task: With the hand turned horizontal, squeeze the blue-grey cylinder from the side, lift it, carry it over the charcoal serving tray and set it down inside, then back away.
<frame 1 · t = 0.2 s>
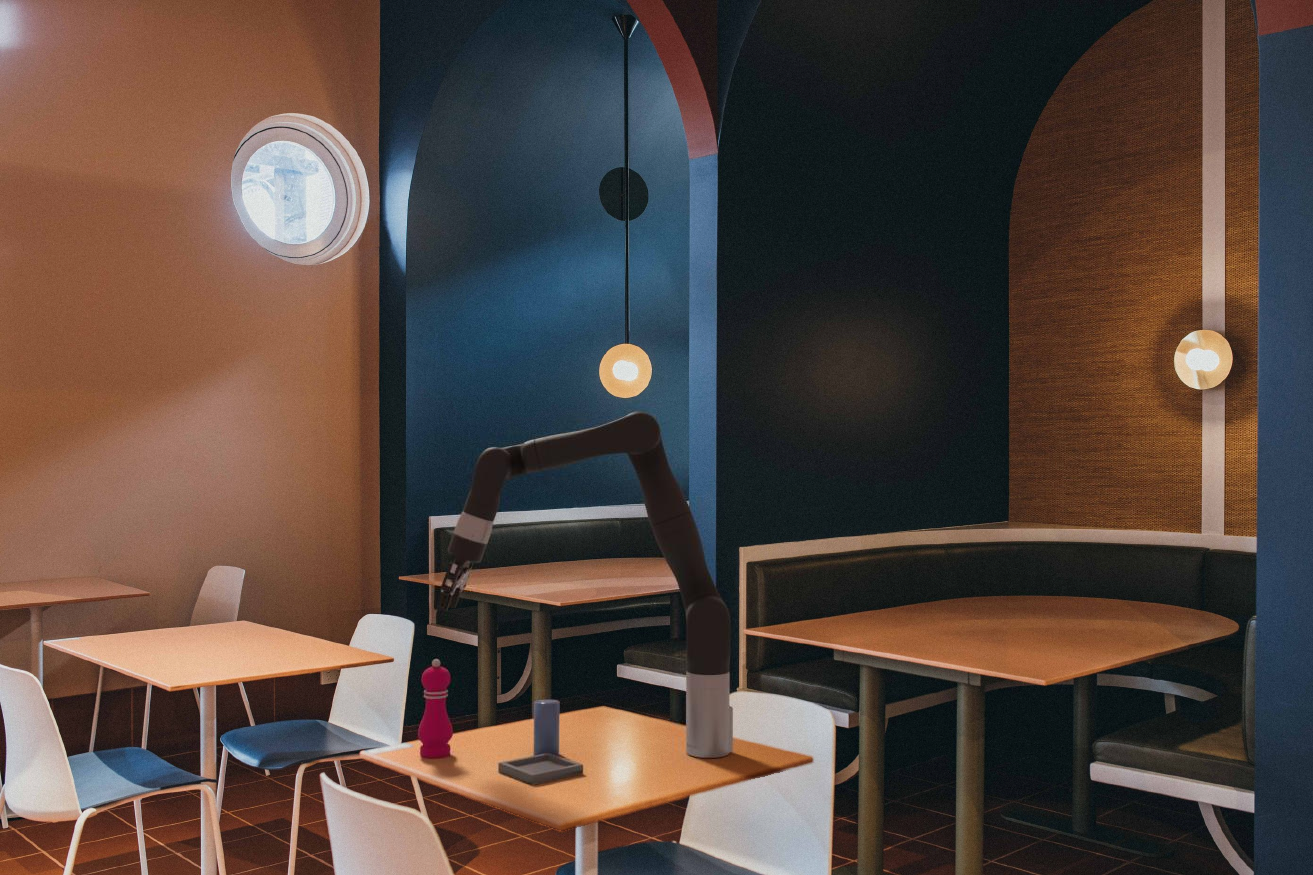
hand: (445, 608, 230), 30 cm above the table, tool tilted 20°, fingers open, 8 cm apart
tray: (540, 772, 214), on the table
blue-grey cylinder: (546, 754, 228), on the table
pepper mill: (435, 755, 228), on the table
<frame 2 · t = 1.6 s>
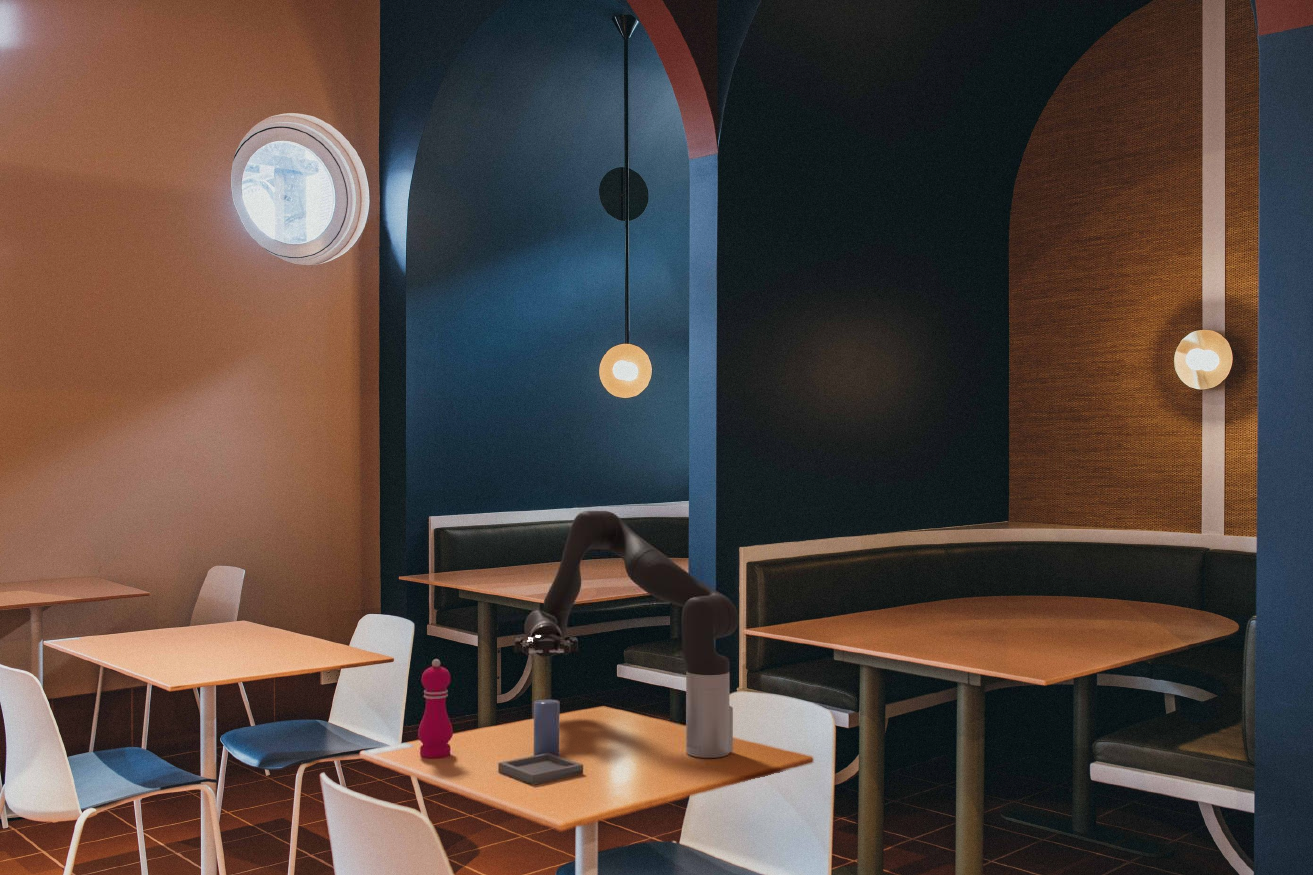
hand: (546, 649, 239), 20 cm above the table, tool horizontal, fingers open, 8 cm apart
nothing on the table moved.
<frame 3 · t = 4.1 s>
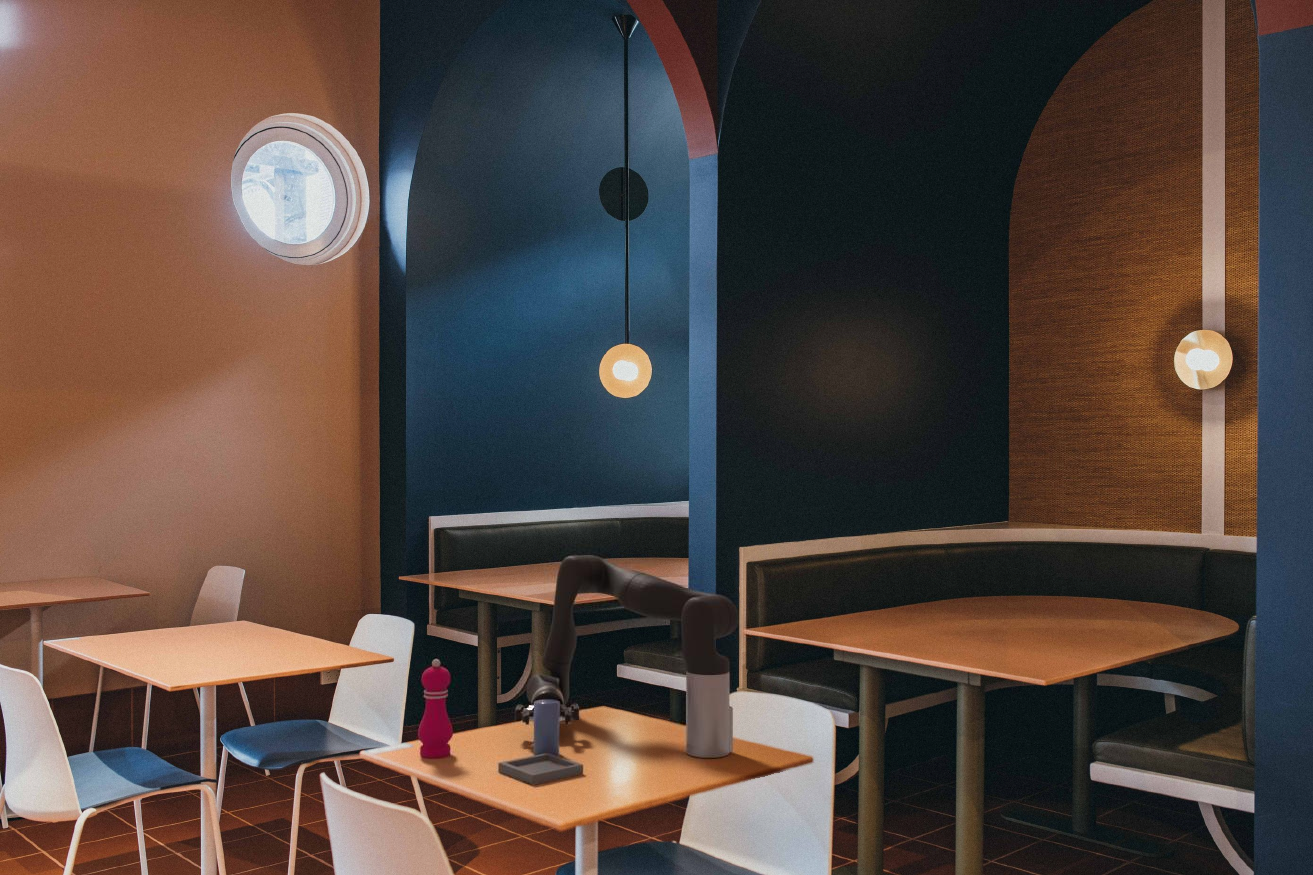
hand: (547, 719, 234), 6 cm above the table, tool horizontal, fingers open, 8 cm apart
nothing on the table moved.
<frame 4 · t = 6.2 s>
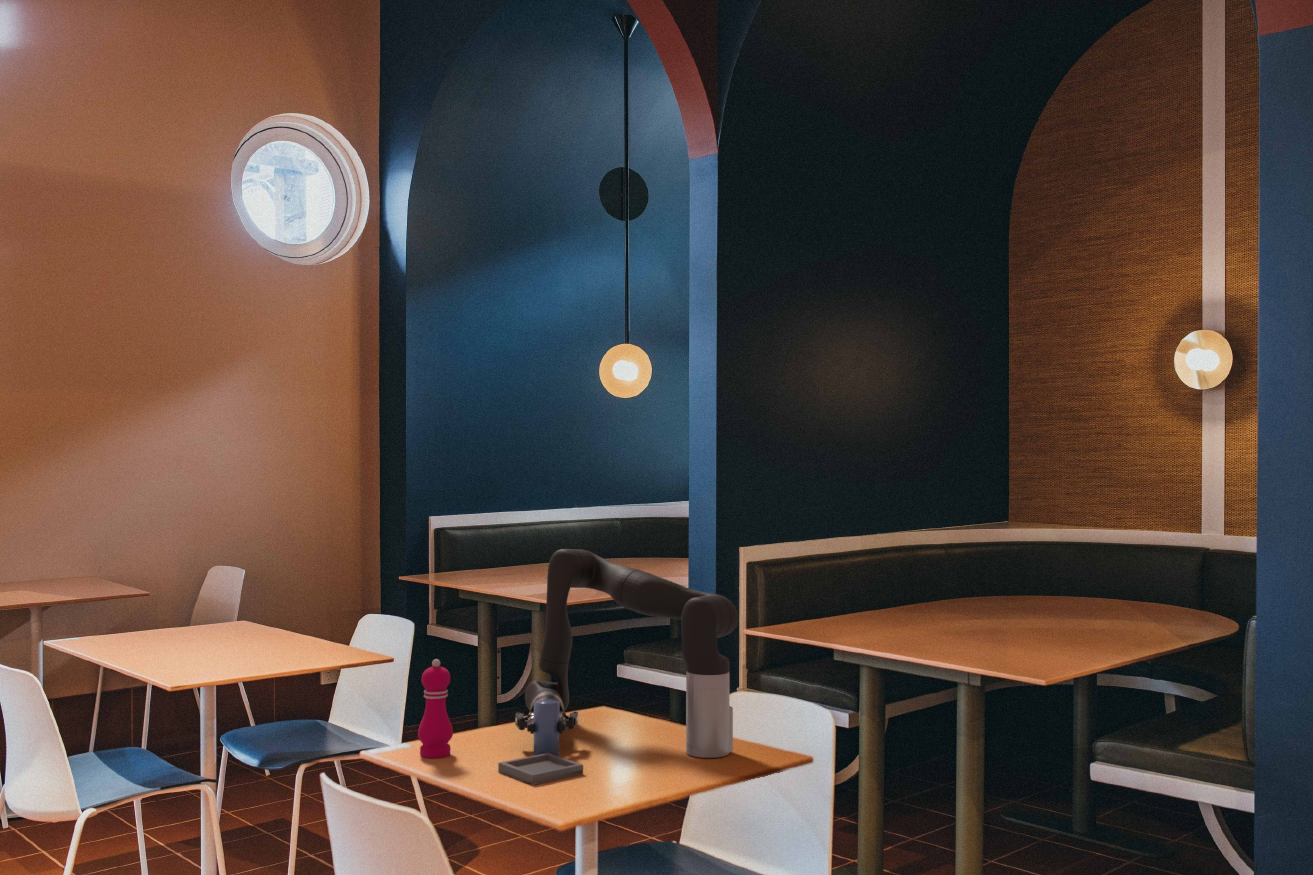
hand: (546, 728, 226), 6 cm above the table, tool horizontal, fingers closed on blue-grey cylinder, 5 cm apart
blue-grey cylinder: (546, 754, 228), on the table, touching gripper
everything else where it was.
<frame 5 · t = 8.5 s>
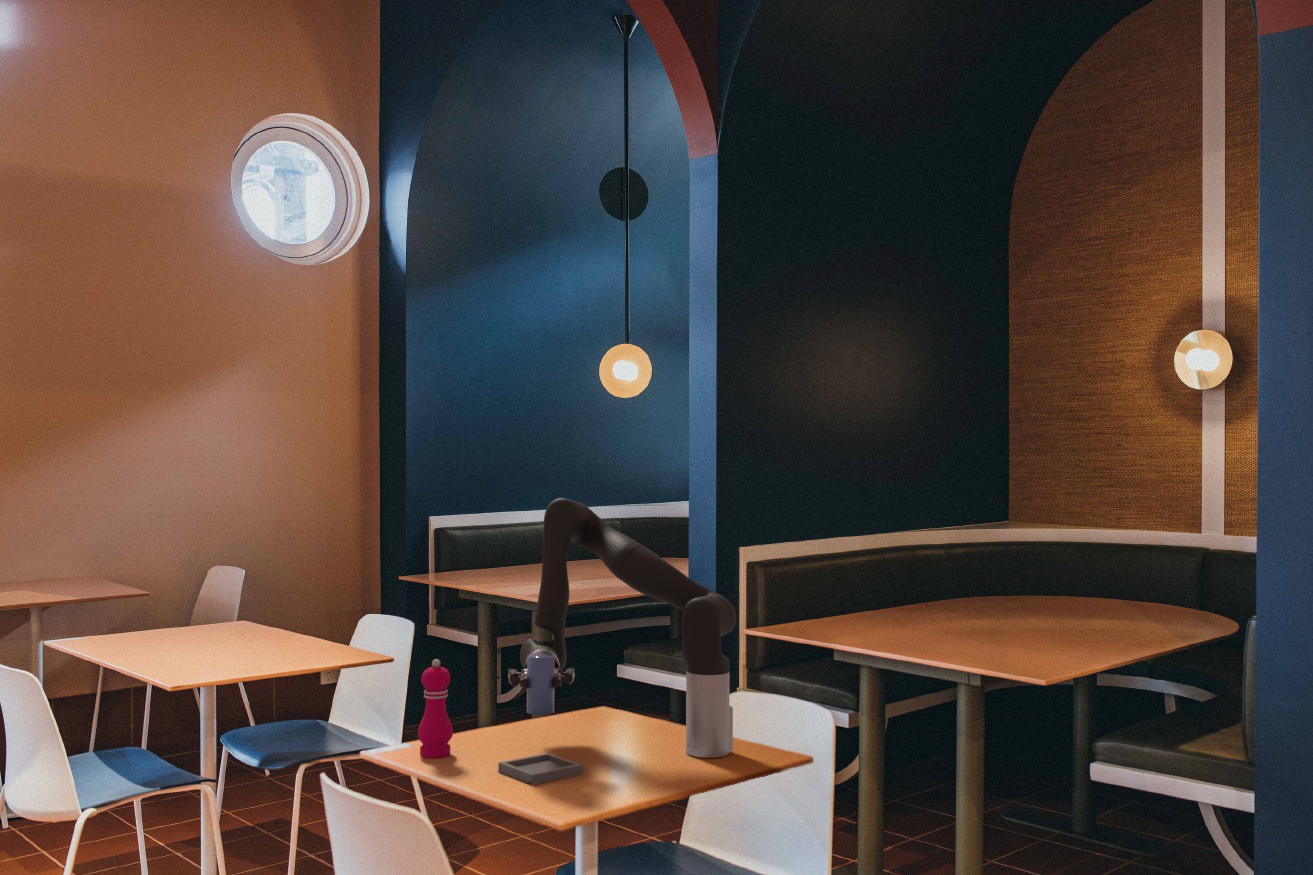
hand: (540, 683, 212), 18 cm above the table, tool horizontal, fingers closed on blue-grey cylinder, 5 cm apart
blue-grey cylinder: (540, 711, 215), point 12 cm above the table, touching gripper
everything else where it was.
when the fingers open (8 cm above the table, at t = 10.9 s): blue-grey cylinder stays where it is, resting on tray.
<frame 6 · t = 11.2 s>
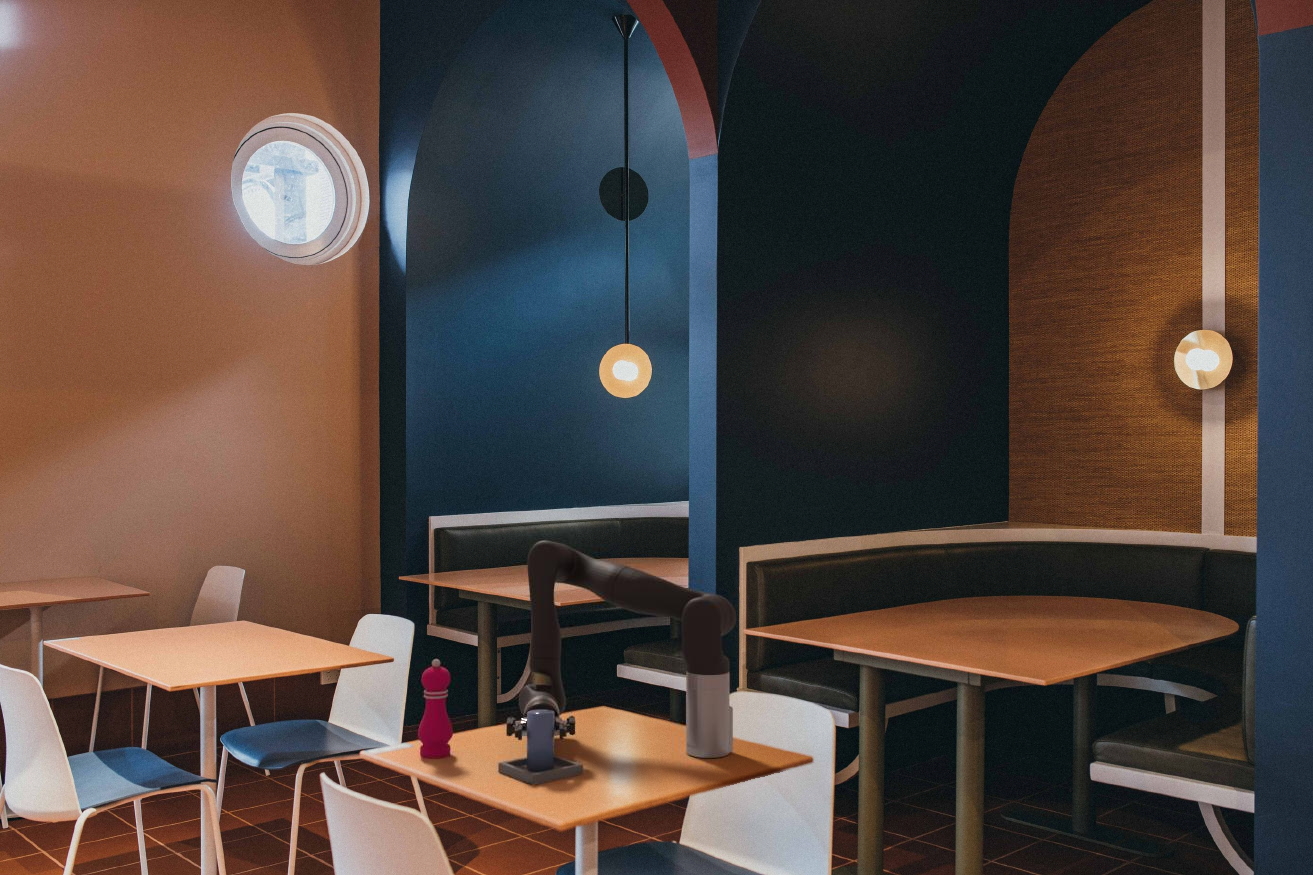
hand: (540, 734, 212), 8 cm above the table, tool horizontal, fingers open, 7 cm apart
blue-grey cylinder: (540, 768, 214), point 1 cm above the table, touching tray
everything else where it was.
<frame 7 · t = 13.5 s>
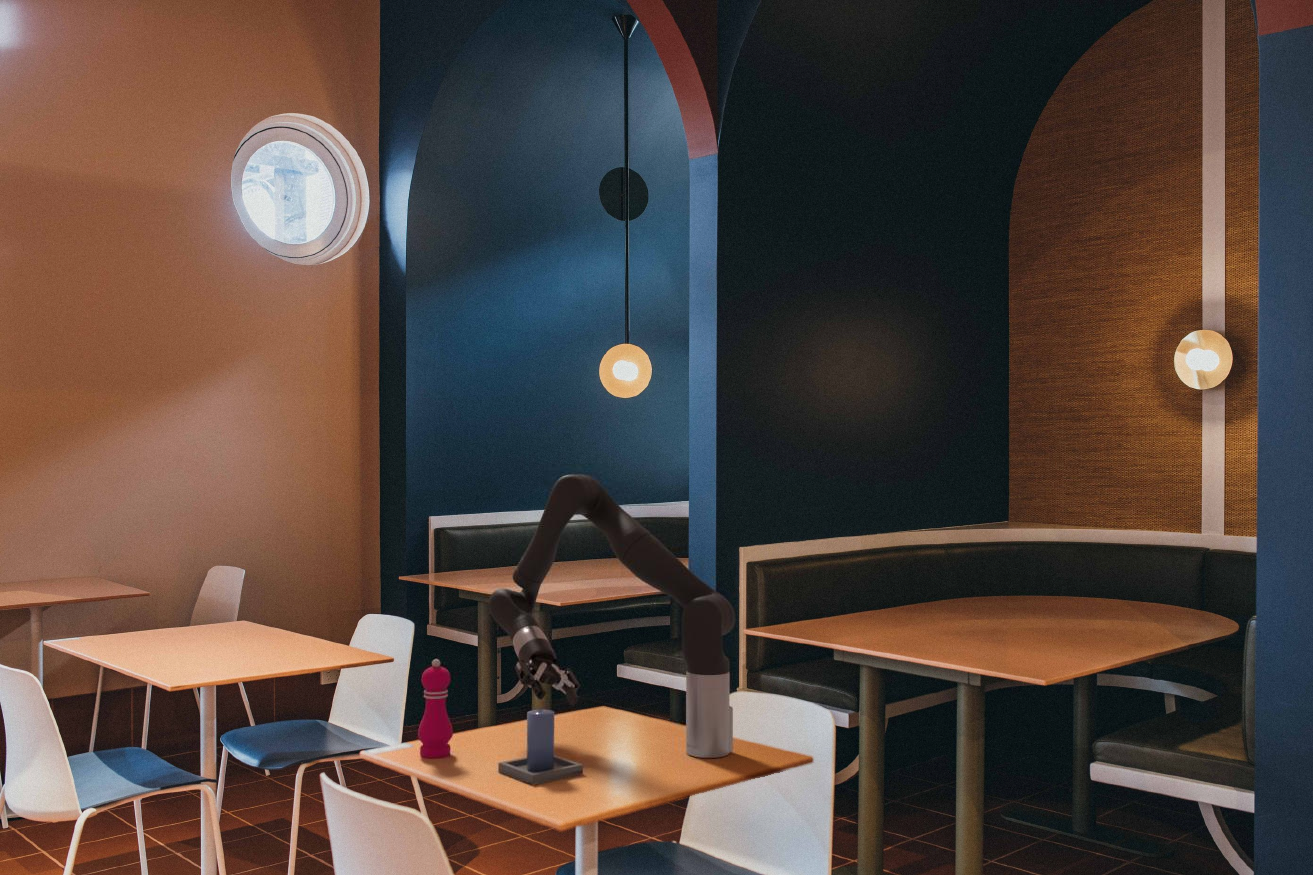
hand: (558, 699, 228), 12 cm above the table, tool tilted 60°, fingers open, 8 cm apart
nothing on the table moved.
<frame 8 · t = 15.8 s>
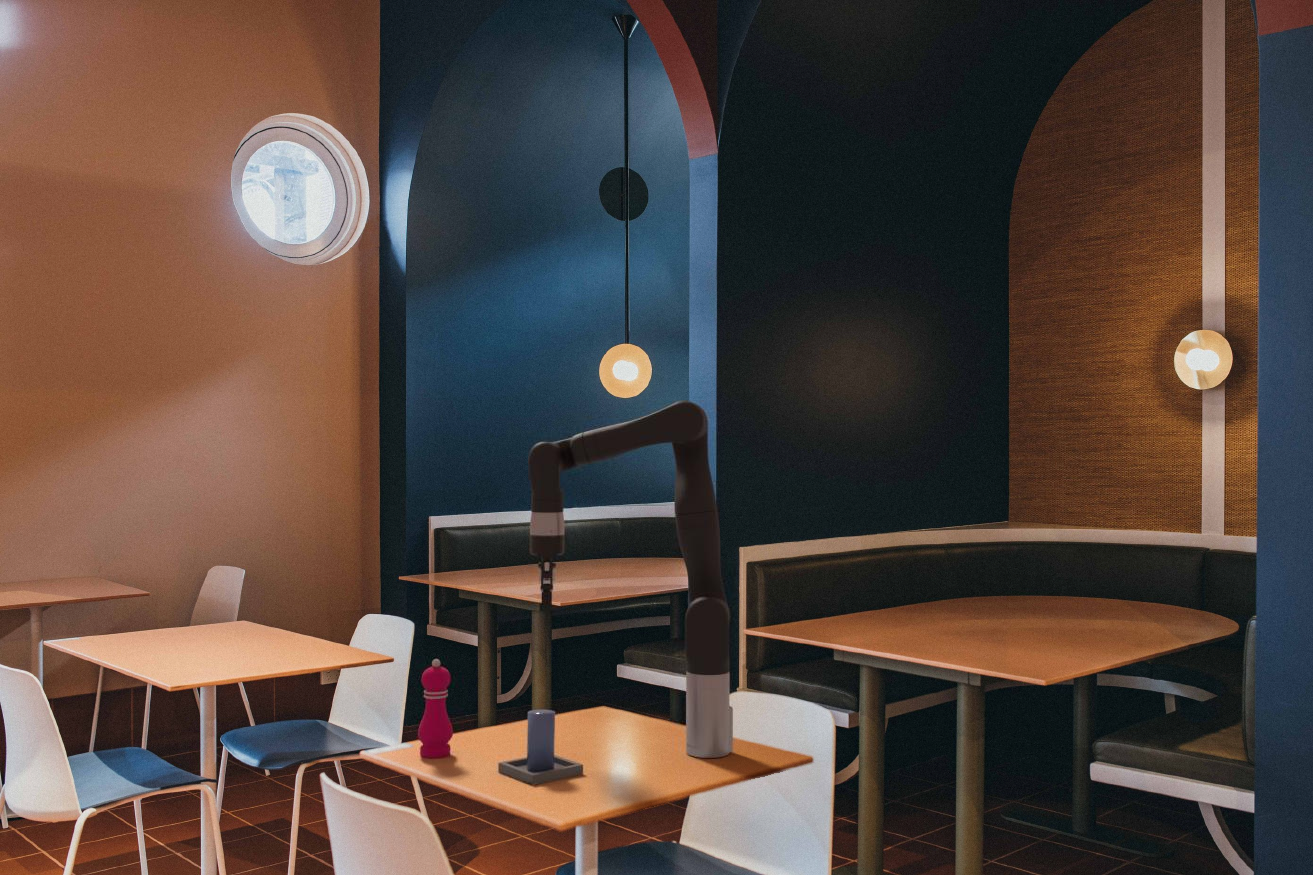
hand: (546, 607, 236), 30 cm above the table, tool pointing down, fingers open, 8 cm apart
nothing on the table moved.
at the end: blue-grey cylinder inside the target area on the tray (0.1 cm from its centre), point 0.8 cm above the tray's base; blue-grey cylinder tilted 1°; the gripper is holding nothing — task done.
